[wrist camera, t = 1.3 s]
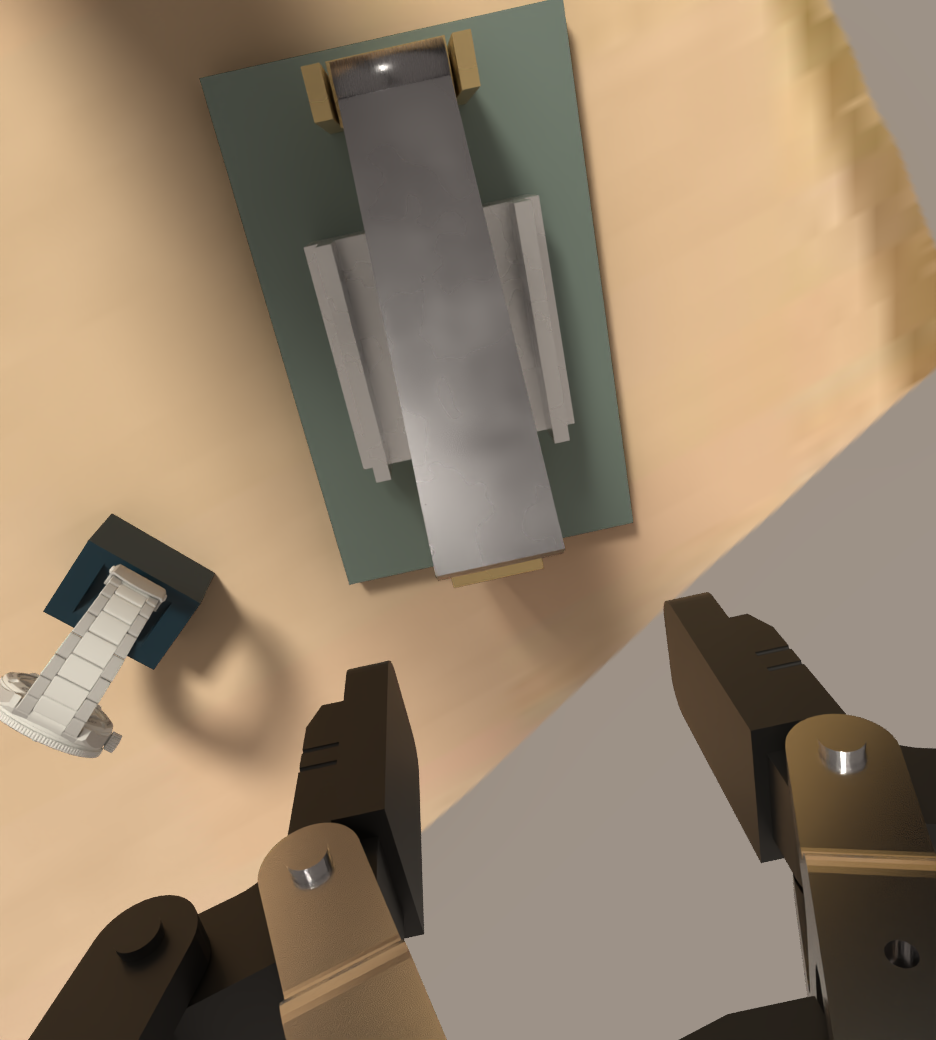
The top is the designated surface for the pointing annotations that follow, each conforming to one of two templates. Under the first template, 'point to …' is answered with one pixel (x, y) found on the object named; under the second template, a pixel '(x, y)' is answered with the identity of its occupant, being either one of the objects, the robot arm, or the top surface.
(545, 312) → the heat sink
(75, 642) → the watch
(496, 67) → the board
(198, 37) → the top surface
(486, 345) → the strap
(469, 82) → the clip posts
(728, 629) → the robot arm
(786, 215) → the top surface
